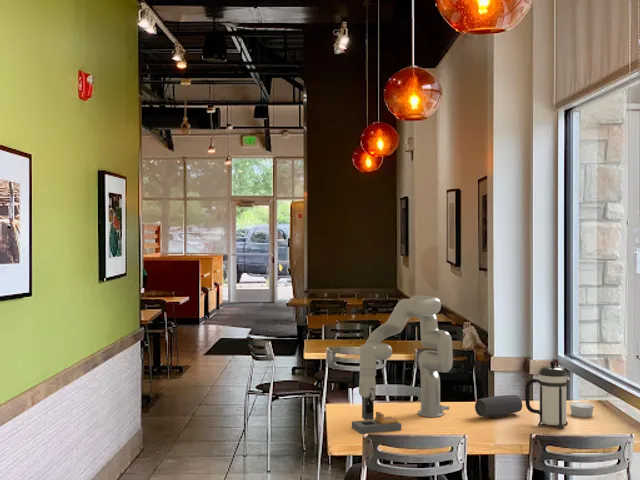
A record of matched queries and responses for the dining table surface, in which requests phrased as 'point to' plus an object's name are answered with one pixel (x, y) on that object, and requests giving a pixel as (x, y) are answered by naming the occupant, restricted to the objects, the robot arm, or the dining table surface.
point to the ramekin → (581, 409)
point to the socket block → (374, 426)
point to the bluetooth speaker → (498, 406)
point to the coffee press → (550, 395)
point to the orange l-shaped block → (384, 419)
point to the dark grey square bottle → (365, 415)
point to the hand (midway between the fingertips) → (367, 411)
